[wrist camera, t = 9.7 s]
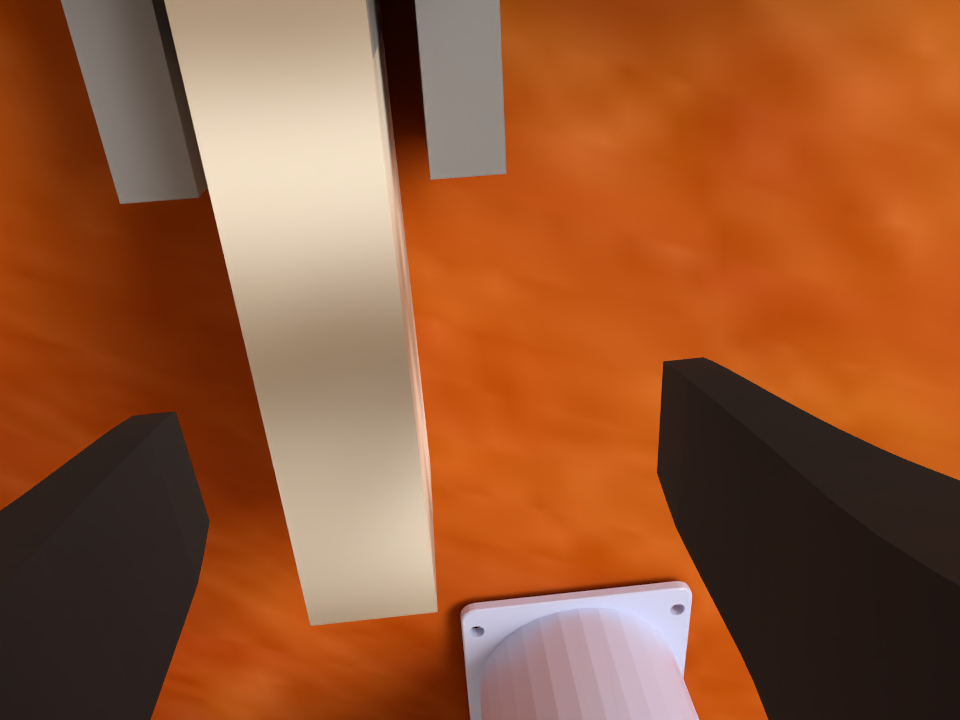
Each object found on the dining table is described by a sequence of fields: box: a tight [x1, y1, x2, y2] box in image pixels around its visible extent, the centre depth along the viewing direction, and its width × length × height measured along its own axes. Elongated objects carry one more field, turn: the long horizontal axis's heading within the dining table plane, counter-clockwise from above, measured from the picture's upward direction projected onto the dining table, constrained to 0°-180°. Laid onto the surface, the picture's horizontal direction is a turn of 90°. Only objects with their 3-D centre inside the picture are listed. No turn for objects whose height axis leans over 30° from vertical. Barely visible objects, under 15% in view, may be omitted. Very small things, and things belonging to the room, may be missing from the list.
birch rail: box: [164, 0, 437, 626], centre depth 17 cm, size 14×3×6 cm, turn 3°
